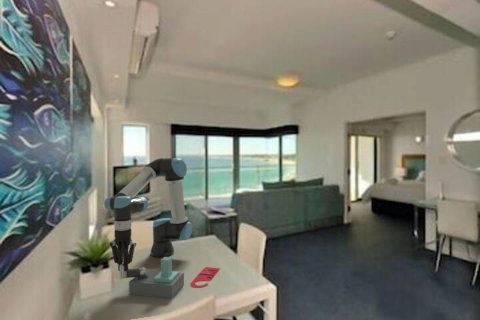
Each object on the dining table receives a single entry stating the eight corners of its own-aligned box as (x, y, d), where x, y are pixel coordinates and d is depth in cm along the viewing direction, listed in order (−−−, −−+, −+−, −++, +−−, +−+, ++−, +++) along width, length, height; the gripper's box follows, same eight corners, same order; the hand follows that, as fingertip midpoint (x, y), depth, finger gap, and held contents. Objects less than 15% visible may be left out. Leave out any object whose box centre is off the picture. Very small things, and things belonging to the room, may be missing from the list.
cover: (162, 273, 143) (162, 254, 142) (179, 274, 141) (178, 255, 141) (153, 281, 134) (153, 261, 134) (171, 282, 132) (170, 262, 132)
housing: (144, 281, 148) (144, 269, 147) (184, 284, 143) (183, 272, 143) (129, 294, 134) (129, 281, 134) (172, 298, 130) (172, 284, 129)
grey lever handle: (146, 275, 140) (146, 267, 140) (145, 278, 137) (145, 269, 137) (122, 276, 139) (122, 268, 139) (120, 279, 136) (120, 270, 136)
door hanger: (220, 268, 162) (204, 288, 138) (220, 269, 162) (204, 289, 138) (205, 266, 165) (187, 286, 141) (205, 267, 165) (187, 287, 141)
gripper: (105, 230, 132) (105, 279, 132) (131, 231, 130) (131, 282, 130) (115, 226, 140) (115, 273, 140) (140, 227, 137) (140, 275, 137)
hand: (123, 277), depth 135 cm, fingers closed
